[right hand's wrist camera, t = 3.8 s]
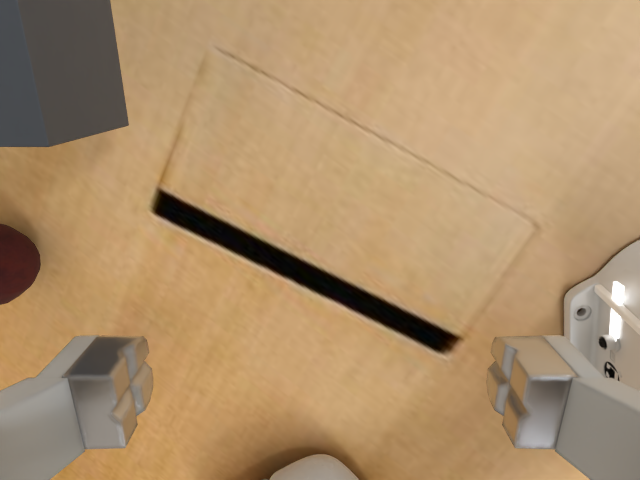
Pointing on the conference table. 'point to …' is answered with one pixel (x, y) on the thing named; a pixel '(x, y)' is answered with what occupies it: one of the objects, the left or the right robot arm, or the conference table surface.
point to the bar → (58, 72)
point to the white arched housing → (315, 469)
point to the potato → (16, 263)
